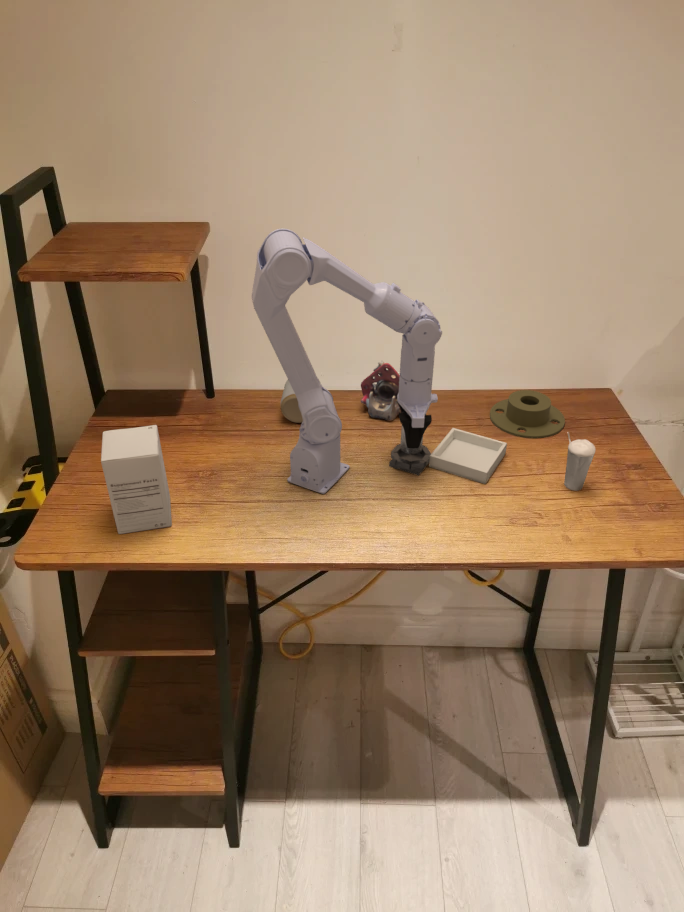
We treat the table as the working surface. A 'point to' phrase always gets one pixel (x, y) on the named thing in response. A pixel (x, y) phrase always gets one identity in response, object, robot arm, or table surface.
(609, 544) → the table surface
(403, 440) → the silver cylinder with bar
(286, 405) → the ceramic mug
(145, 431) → the supplement box
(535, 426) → the flange
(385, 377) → the brake caliper
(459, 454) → the bin
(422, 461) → the stud mount
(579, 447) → the milkshake
